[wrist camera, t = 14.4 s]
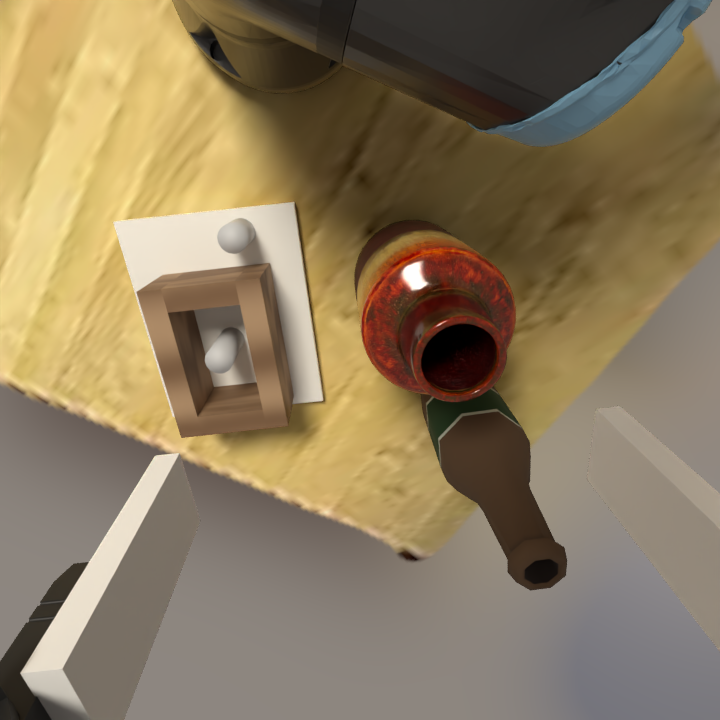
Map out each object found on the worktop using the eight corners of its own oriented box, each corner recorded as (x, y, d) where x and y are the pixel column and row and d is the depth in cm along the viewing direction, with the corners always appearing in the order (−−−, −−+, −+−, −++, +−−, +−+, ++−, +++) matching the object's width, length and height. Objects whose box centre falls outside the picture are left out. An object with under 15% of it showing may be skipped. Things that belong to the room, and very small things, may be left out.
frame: (162, 274, 42) (136, 291, 37) (269, 262, 42) (259, 278, 37) (199, 406, 48) (181, 437, 43) (293, 395, 48) (288, 426, 42)
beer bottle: (436, 432, 52) (508, 633, 30) (404, 379, 49) (457, 559, 27) (499, 401, 50) (622, 587, 29) (470, 344, 48) (582, 503, 26)
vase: (337, 243, 43) (336, 308, 24) (448, 201, 42) (535, 236, 23) (375, 343, 47) (399, 463, 28) (476, 307, 46) (569, 408, 27)
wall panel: (118, 220, 41) (80, 230, 35) (294, 201, 41) (287, 208, 35) (176, 412, 49) (153, 446, 43) (323, 396, 49) (321, 428, 43)
